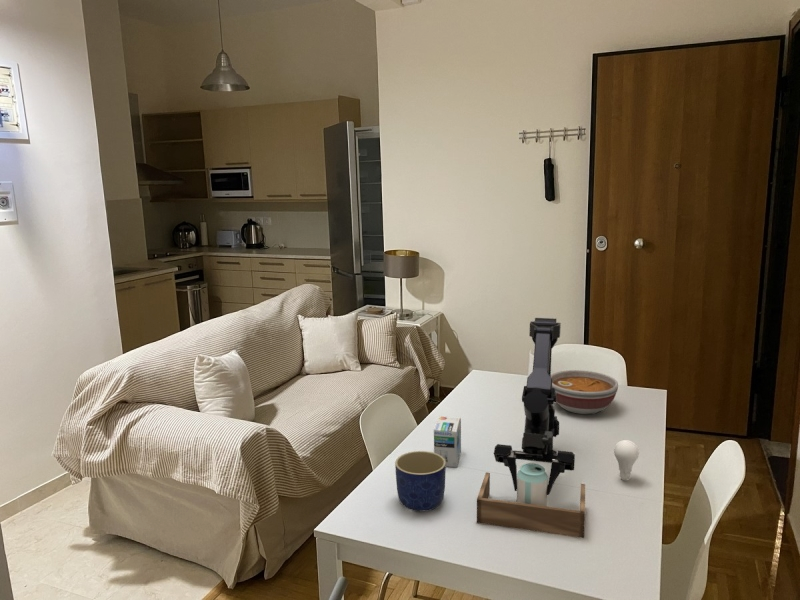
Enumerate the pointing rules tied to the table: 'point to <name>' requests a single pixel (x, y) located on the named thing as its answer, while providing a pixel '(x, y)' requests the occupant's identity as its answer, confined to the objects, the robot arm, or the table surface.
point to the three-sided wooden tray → (530, 514)
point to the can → (532, 485)
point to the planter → (420, 480)
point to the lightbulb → (626, 457)
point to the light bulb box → (448, 439)
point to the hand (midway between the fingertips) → (531, 492)
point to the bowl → (584, 390)
